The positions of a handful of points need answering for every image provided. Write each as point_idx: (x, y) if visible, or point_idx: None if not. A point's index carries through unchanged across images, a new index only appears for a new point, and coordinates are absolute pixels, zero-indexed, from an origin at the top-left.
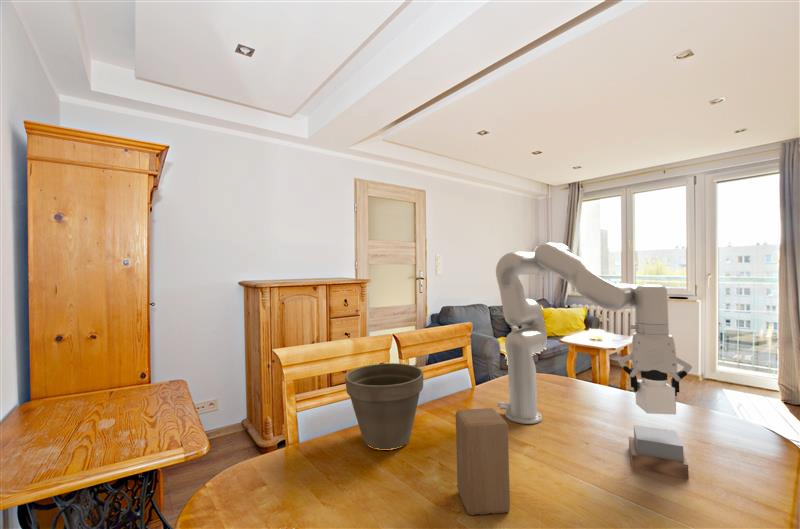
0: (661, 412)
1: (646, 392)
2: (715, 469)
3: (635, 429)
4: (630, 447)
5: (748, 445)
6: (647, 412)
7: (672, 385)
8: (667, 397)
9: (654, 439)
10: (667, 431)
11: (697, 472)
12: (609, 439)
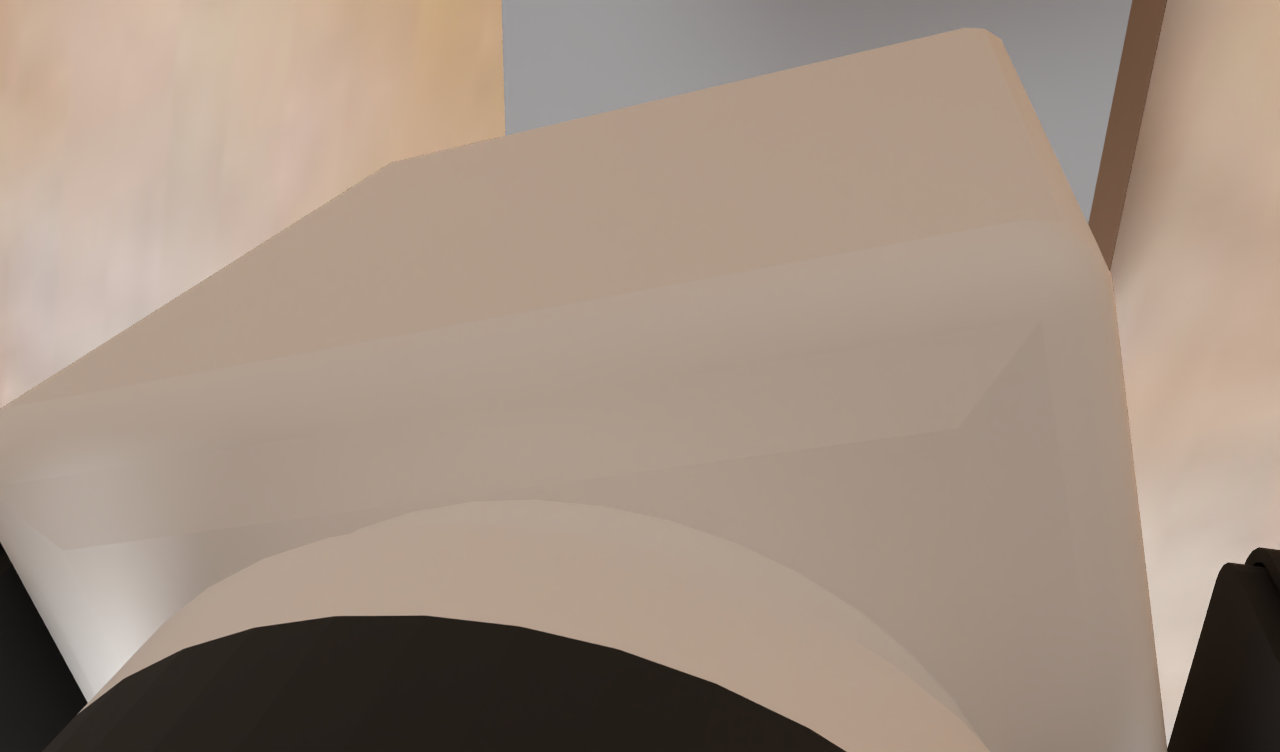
0: (655, 106)
1: (1044, 168)
2: (310, 156)
3: None
4: (1131, 140)
5: None
6: (981, 31)
7: (38, 722)
8: (364, 250)
9: (858, 1)
10: None
11: (469, 15)
12: (1236, 534)
